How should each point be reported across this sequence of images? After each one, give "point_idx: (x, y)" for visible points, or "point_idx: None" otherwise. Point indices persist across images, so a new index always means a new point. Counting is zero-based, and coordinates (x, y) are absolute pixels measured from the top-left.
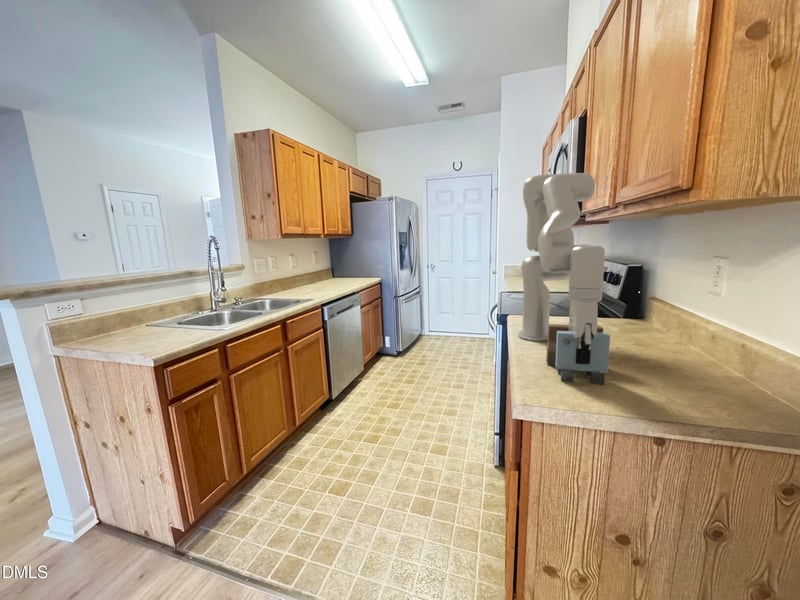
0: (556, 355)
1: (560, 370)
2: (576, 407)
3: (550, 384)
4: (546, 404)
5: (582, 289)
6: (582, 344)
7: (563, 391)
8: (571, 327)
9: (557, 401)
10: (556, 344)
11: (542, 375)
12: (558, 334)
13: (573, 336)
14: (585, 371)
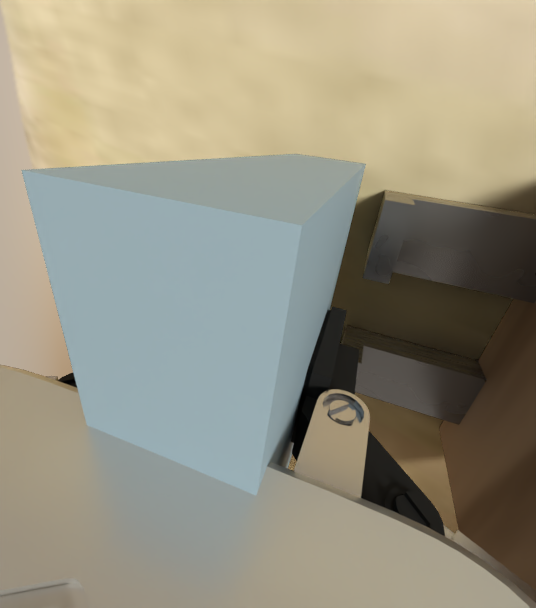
0: (316, 162)
1: (381, 205)
2: (48, 153)
3: (227, 90)
4: (17, 14)
5: None
6: (63, 377)
7: (161, 144)
8: (27, 581)
9: (62, 82)
10: (332, 176)
11: (367, 61)
12: (62, 174)
13: (2, 375)
14: (371, 340)
